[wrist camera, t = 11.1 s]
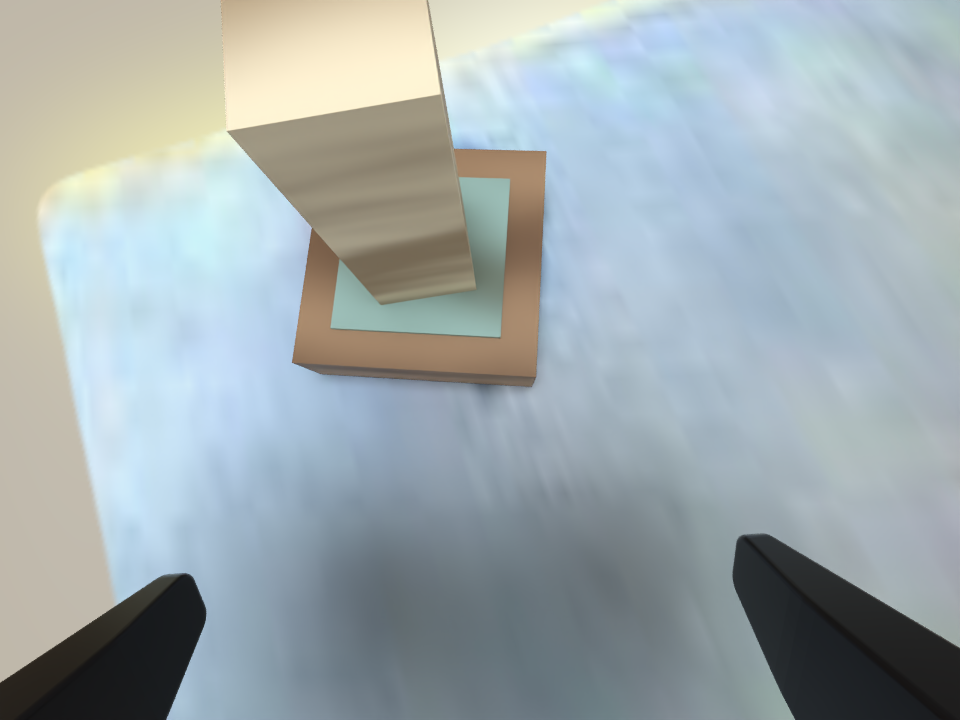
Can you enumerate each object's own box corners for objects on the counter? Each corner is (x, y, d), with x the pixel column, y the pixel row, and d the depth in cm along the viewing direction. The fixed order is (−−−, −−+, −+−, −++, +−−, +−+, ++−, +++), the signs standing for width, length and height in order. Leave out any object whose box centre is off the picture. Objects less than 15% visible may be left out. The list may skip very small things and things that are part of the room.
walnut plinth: (531, 386, 21) (536, 376, 18) (321, 374, 22) (289, 361, 18) (541, 189, 23) (546, 148, 20) (346, 183, 23) (322, 142, 20)
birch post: (476, 289, 19) (440, 93, 8) (380, 305, 19) (226, 130, 8) (463, 202, 19) (414, -79, 9) (371, 217, 19) (218, -43, 9)
